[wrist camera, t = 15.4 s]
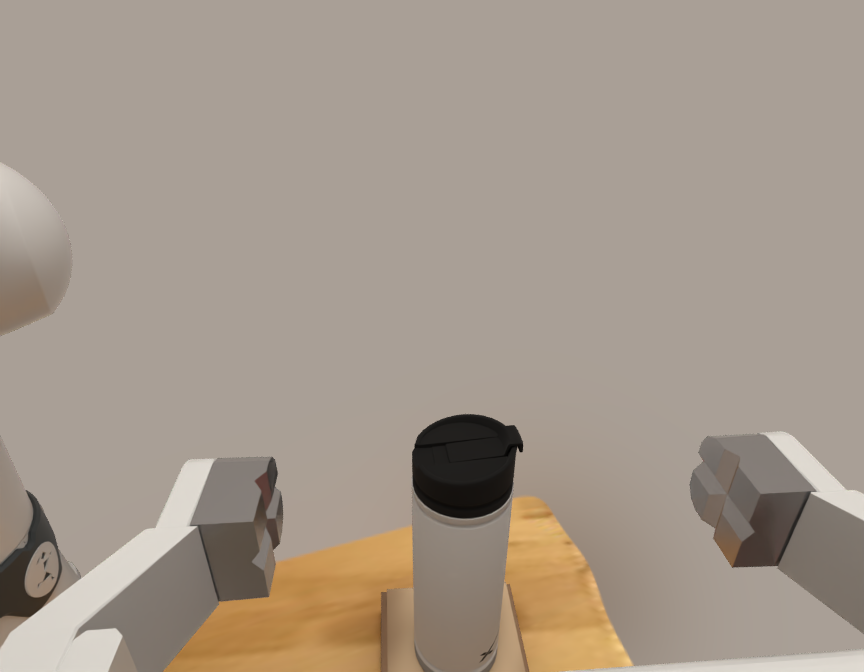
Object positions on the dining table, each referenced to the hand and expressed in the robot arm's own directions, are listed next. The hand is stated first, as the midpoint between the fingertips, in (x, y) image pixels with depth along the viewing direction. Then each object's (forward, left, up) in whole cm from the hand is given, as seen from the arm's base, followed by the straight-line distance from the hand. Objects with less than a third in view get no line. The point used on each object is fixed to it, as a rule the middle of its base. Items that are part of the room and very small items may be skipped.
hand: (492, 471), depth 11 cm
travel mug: (+2, +18, -34) cm, 39 cm away
